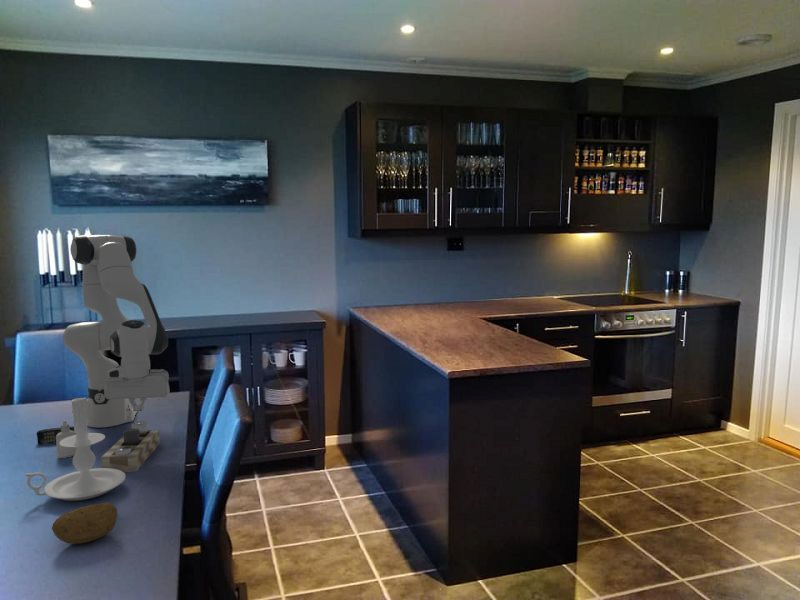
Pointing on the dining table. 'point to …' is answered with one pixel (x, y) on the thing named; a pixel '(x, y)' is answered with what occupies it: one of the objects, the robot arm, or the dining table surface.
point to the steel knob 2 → (140, 427)
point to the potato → (85, 523)
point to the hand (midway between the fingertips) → (138, 410)
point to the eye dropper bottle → (66, 432)
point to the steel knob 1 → (123, 450)
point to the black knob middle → (131, 437)
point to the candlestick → (80, 464)
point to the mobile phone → (49, 435)
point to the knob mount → (135, 457)
